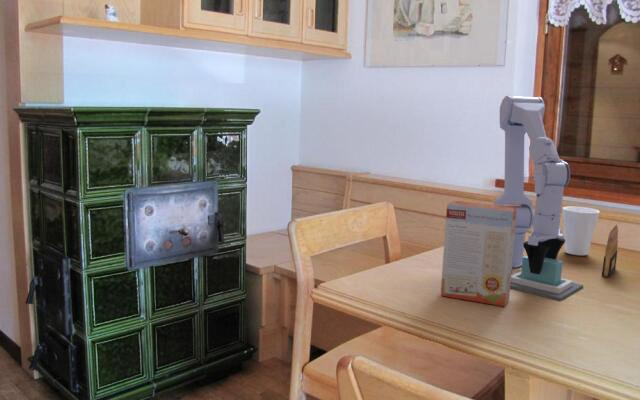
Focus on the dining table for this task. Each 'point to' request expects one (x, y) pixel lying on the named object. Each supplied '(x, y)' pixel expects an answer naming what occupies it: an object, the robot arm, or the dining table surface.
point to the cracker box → (478, 252)
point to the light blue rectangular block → (543, 272)
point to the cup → (579, 228)
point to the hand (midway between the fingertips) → (541, 270)
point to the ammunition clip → (610, 253)
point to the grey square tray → (544, 287)
